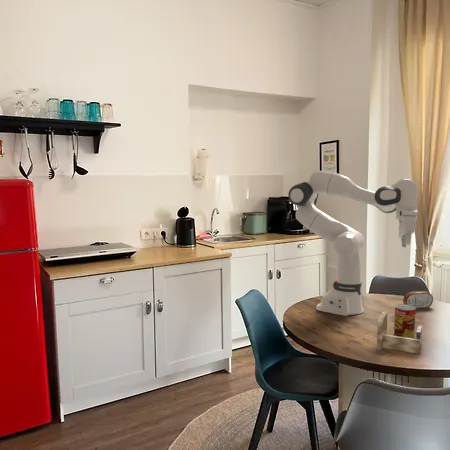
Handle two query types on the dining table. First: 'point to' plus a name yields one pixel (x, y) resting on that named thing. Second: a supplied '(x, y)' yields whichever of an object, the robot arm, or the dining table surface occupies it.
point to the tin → (418, 299)
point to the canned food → (404, 321)
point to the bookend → (419, 334)
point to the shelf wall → (394, 338)
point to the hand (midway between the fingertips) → (405, 246)
